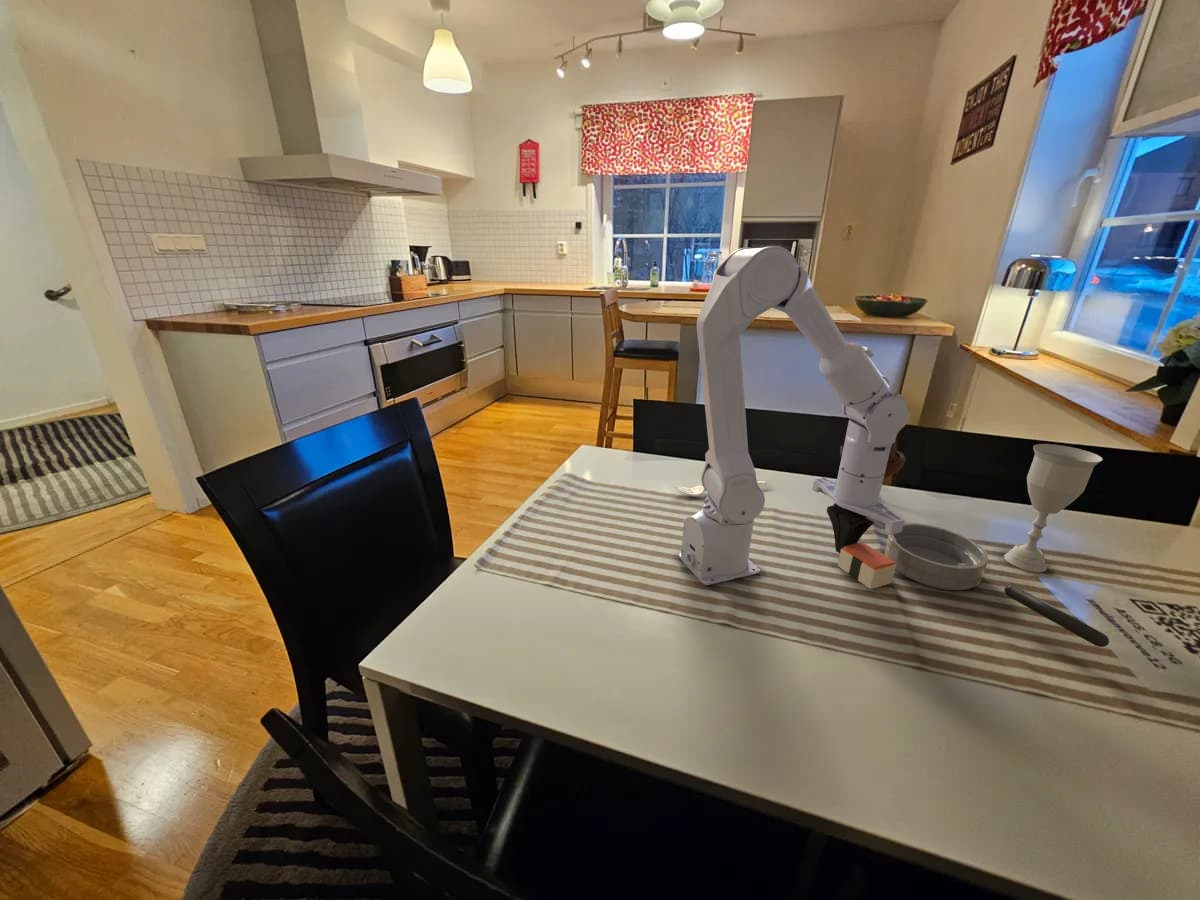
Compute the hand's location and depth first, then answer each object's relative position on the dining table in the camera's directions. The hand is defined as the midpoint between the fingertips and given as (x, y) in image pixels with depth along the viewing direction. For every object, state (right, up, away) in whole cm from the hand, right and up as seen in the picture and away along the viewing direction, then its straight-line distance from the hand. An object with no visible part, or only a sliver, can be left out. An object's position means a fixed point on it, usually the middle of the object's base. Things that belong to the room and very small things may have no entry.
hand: (843, 551), depth 74 cm
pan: (+12, -2, -1) cm, 13 cm away
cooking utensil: (-19, +8, +21) cm, 30 cm away
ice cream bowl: (+14, +6, +20) cm, 25 cm away
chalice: (+28, -2, 0) cm, 28 cm away
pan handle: (+18, -5, -15) cm, 24 cm away
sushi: (+1, -3, -3) cm, 4 cm away
